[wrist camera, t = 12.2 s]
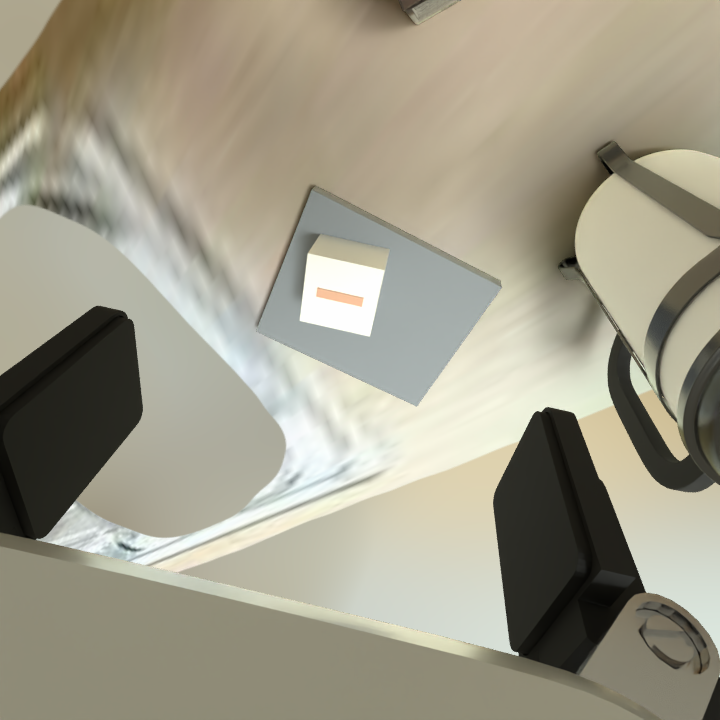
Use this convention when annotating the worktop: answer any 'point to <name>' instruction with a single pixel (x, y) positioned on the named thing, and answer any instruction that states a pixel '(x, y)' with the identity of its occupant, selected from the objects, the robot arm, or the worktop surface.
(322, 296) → the white striped cube
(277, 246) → the worktop surface
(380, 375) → the base plate
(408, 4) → the coffee box
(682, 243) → the coffee press
